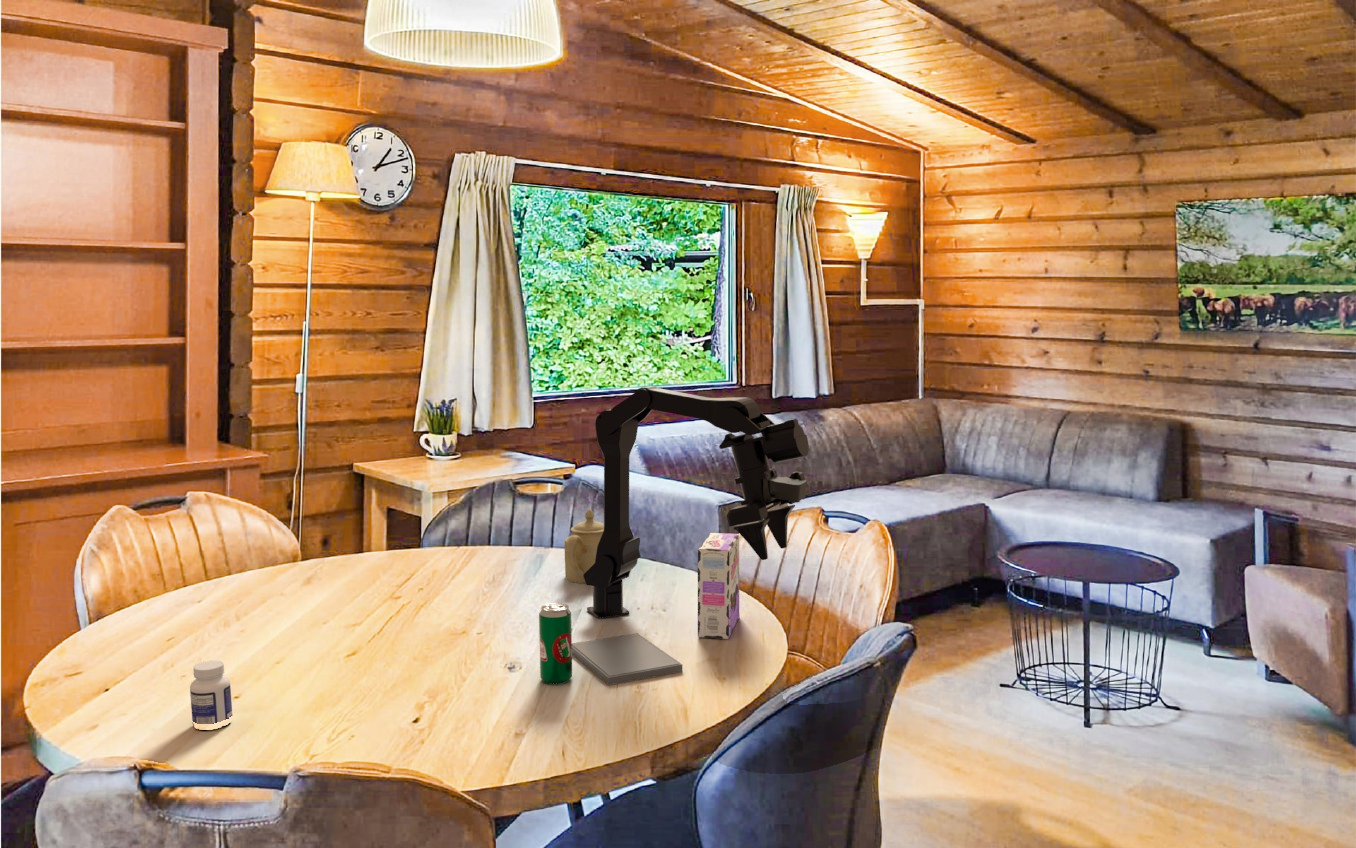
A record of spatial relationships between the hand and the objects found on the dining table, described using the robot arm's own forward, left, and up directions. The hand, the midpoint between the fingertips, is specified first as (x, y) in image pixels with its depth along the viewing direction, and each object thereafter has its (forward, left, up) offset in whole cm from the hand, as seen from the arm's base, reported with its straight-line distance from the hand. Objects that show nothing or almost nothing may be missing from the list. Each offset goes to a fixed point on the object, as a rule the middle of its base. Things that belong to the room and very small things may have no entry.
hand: (774, 553), depth 185 cm
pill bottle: (-4, -92, -16) cm, 93 cm away
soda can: (+2, -42, -16) cm, 44 cm away
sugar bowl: (-51, -15, -16) cm, 56 cm away
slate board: (-1, -29, -15) cm, 33 cm away
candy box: (-10, -6, -16) cm, 19 cm away
